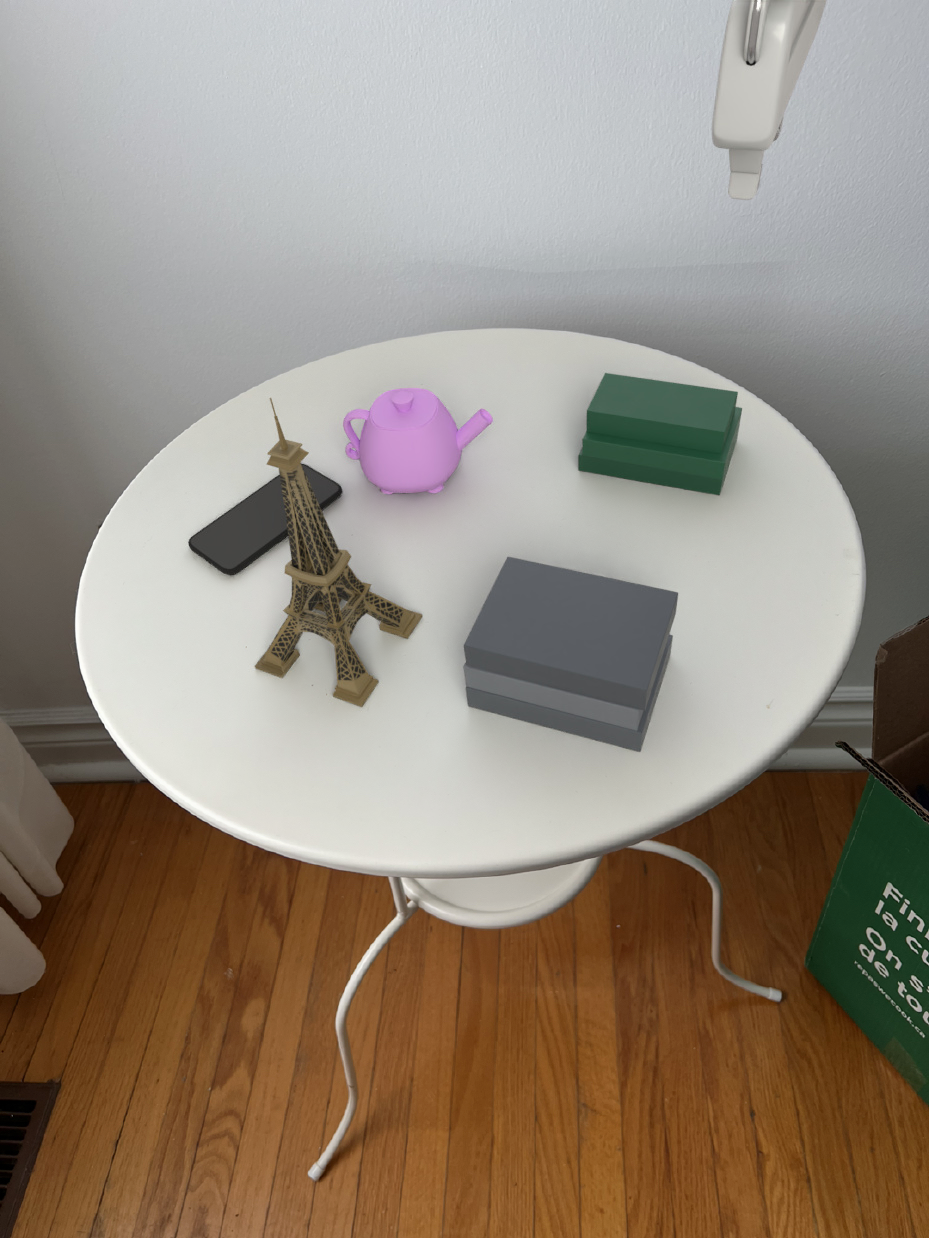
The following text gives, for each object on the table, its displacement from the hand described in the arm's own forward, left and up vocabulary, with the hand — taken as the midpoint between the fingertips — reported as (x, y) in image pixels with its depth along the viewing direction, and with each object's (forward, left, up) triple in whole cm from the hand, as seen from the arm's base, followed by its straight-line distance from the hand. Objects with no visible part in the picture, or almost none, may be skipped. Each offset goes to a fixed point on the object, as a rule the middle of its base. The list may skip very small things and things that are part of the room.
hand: (755, 165), depth 64 cm
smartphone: (+40, +14, -31) cm, 53 cm away
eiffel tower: (+26, +26, -31) cm, 48 cm away
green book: (+6, -6, -27) cm, 28 cm away
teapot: (+28, +3, -31) cm, 42 cm away
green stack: (+6, -6, -31) cm, 32 cm away
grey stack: (+6, +24, -31) cm, 40 cm away
